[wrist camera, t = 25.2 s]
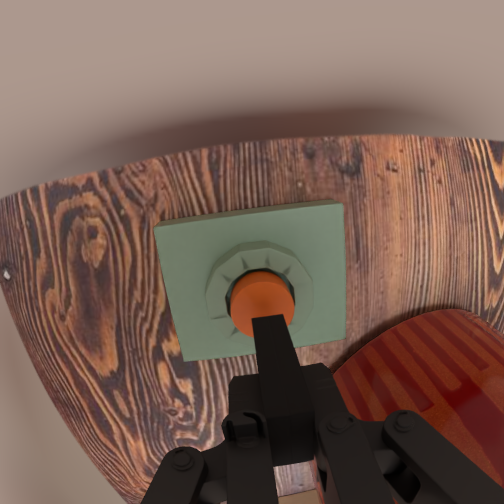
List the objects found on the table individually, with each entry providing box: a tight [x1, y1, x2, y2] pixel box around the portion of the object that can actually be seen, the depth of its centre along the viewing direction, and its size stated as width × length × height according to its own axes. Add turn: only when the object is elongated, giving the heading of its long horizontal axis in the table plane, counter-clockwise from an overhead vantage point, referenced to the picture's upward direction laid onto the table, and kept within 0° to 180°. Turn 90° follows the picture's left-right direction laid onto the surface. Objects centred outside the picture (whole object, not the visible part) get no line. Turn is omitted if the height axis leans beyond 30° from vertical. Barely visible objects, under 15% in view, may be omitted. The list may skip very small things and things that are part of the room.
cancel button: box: [231, 271, 295, 338], centre depth 18 cm, size 4×4×2 cm
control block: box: [153, 199, 346, 361], centre depth 21 cm, size 12×10×4 cm
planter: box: [309, 309, 504, 504], centre depth 18 cm, size 23×23×20 cm
